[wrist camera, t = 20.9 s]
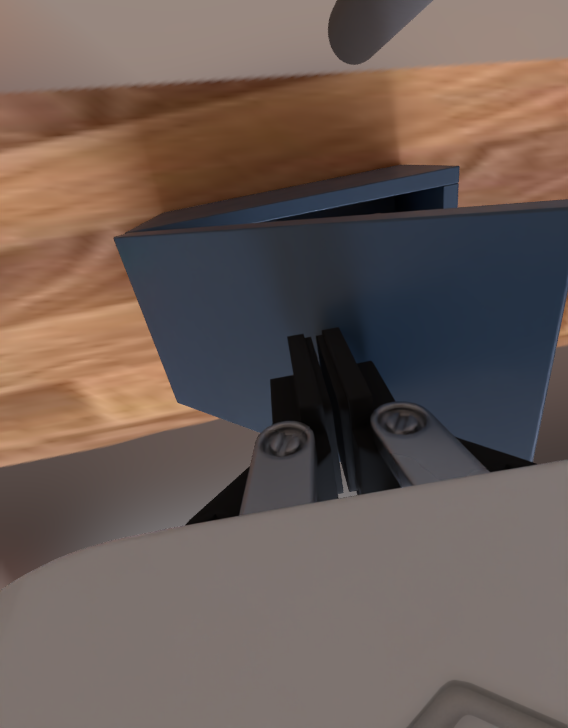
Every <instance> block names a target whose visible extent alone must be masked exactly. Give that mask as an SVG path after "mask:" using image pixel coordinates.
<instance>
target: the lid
mask: <svg viewBox="0 0 568 728" xmlns="http://www.w3.org/2000/svg"><path fill="white" fill-rule="evenodd" d="M114 241H115V244H116V246H117V249H118V251H119V254H120V256H121V259H122V262H123V264H124V267H125V269H126V272H127V274H128V277H129V279H130V282H131V285H132V287H133V290H134V292H135V295H136V297H137V300H138V303H139V305H140V308H141V310H142V313H143V315H144V318H145V321H146V323H147V326H148V328H149V331H150V333H151V336H152V338H153V341H154V344H155V346H156V349H157V351H158V354H159V356H160V359H161V362H162V364H163V367H164V369H165V372H166V374H167V377H168V380H169V382H170V385H171V387H172V390H173V392H174V395H175V397H176V400H177V402H178V403H180V404H183V405H185V406H188V407H191V408H194V409H196V410H199V411H202V412H205V413H207V414H210V415H213V416H216V417H218V418H221V419H224V420H227V421H230V422H232V423H235V424H238V425H240V426H243V427H246V428H249V429H251V430H254V431H257V432H260V433H261V432H262V431H263V430H264V429H266V428H267V427H269V426H271V425H273V424H272V406H271V389H270V379H274V378H279V377H285V376H290V375H293V369H292V363H291V357H290V351H289V346H288V340H287V336H293V335H298V334H304V337H305V338H306V337H311V339H312V342H313V345H314V349H315V352H316V355H317V358H318V362H319V355H318V348H317V342H316V336H317V335H322V330H325V329H330V328H336V327H339V328H340V331H341V333H342V335H343V337H344V339H345V341H346V343H347V345H348V347H349V349H350V351H351V353H352V355H353V357H354V359H355V361H356V363H361V362H367V361H372V362H373V363H374V365H375V367H376V368H377V370H378V372H379V374H380V375H381V377H382V379H383V380H384V382H385V384H386V386H387V387H388V389H389V391H390V393H391V394H392V396H393V398H394V399H395V401H407V402H412V403H416V404H418V405H421V406H423V407H425V408H426V409H427V410H429V411H430V412H431V413H432V414H433V415H434V416H435V417H436V418H437V419H438V420H439V421H440V422H441V423H442V424H443V425H444V426H445V427H446V428H447V429H448V430H449V431H450V432H451V433H452V434H453V435H454V436H455V437H457V438H460V439H463V440H466V441H469V442H473V443H476V444H479V445H482V446H485V447H488V448H491V449H494V450H497V451H500V452H503V453H506V454H509V455H513V456H516V457H519V458H522V459H525V460H528V461H531V462H533V458H534V453H535V448H536V443H537V438H538V433H539V428H540V424H541V419H542V414H543V409H544V404H545V399H546V395H547V390H548V385H549V380H550V375H551V370H552V365H553V361H554V356H555V351H556V346H557V341H558V336H559V332H560V327H561V322H562V317H563V312H564V307H565V302H566V297H567V293H568V199H566V200H552V201H539V202H526V203H513V204H500V205H487V206H474V207H460V208H447V209H434V210H421V211H408V212H395V213H382V214H368V215H355V216H342V217H329V218H316V219H303V220H289V221H276V222H263V223H250V224H237V225H224V226H211V227H197V228H184V229H171V230H158V231H145V232H132V233H126V234H123V235H119V236H116V237H114ZM319 365H320V362H319ZM338 455H339V453H338ZM339 462H341V461H340V457H339Z"/></svg>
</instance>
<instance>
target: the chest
mask: <svg viewBox="0 0 568 728" xmlns="http://www.w3.org/2000/svg"><path fill="white" fill-rule="evenodd" d="M458 182H459V166H442V165H397V166H392V167H387V168H382V169H377V170H372V171H367V172H362V173H357V174H352V175H347V176H342V177H337V178H332V179H327V180H322V181H317V182H312V183H307V184H302V185H298V186H293V187H288V188H283V189H278V190H273V191H268V192H263V193H258V194H253V195H248V196H243V197H238V198H233V199H228V200H223V201H218V202H213V203H208V204H203V205H198V206H194V207H189V208H184V209H179V210H174V211H169V212H164V213H161V214H159V215H158V216H156V217H154V218H152V219H150V220H148V221H146V222H144V223H143V224H141V225H139V226H137V227H135V228H133V229H131V230H130V231H128V232H126V233H132V232H145V231H158V230H171V229H184V228H197V227H211V226H224V225H237V224H250V223H263V222H276V221H289V220H303V219H316V218H329V217H342V216H355V215H368V214H375V213H381V214H382V213H395V212H408V211H421V210H434V209H447V208H457V205H458V185H459V184H458ZM126 233H125V234H126Z"/></svg>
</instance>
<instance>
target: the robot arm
mask: <svg viewBox="0 0 568 728" xmlns="http://www.w3.org/2000/svg"><path fill="white" fill-rule="evenodd" d="M287 340H288V346H289V351H290V357H291V363H292V369H293V375H290V376H285V377H279V378H274V379H270V389H271V406H272V424H273V425H271V426H269V427H267V428H266V429H264V430H263V431H262V432H261V433H260V434H259V436H258V437H257V440H256V442H255V446H254V451H253V455H252V460H251V464H250V467H248V468H247V469H246V470H245V471H244V472H243V473H242V474H241V475H239V476H238V477H237V478H236V479H235V480H234V481H233V482H232V483H231V484H230V485H229V486H227V487H226V488H225V489H224V490H223V491H222V492H220V493H219V494H218V495H217V496H216V497H215V498H214V499H213V500H212V501H210V502H209V503H208V504H207V505H206V506H205V507H204V508H203V509H202V510H201V511H199V512H198V513H197V514H196V515H195V516H194V517H193V518H192V519H190V520H189V522H188V523H187V524H186V525H185V526H180V527H174V528H169V529H163V530H158V531H154V532H149V533H144V534H140V535H135V536H130V537H125V538H121V539H116V540H111V541H108V542H104V543H101V544H97V545H94V546H91V547H87V548H84V549H81V550H79V551H76V552H73V553H71V554H68V555H66V556H63V557H60V558H58V559H55V560H53V561H51V562H49V563H47V564H45V565H43V566H41V567H39V568H37V569H35V570H33V571H31V572H29V573H27V574H26V575H24V576H22V577H20V578H19V579H17V580H15V581H14V582H12V583H11V584H9V585H8V586H6V587H5V588H3V589H2V590H0V728H568V460H562V461H557V462H550V463H544V464H535V463H533V462H531V461H528V460H525V459H522V458H519V457H516V456H513V455H509V454H506V453H503V452H500V451H497V450H494V449H491V448H488V447H485V446H482V445H479V444H476V443H473V442H469V441H466V440H463V439H460V438H457V437H455V436H454V435H453V434H452V433H451V432H450V431H449V430H448V429H447V428H446V427H445V426H444V425H443V424H442V423H441V422H440V421H439V420H438V419H437V418H436V417H435V416H434V415H433V414H432V413H431V412H430V411H429V410H427V409H426V408H425V407H423V406H421V405H418V404H416V403H412V402H407V401H395V399H394V398H393V396H392V394H391V393H390V391H389V389H388V387H387V386H386V384H385V382H384V380H383V379H382V377H381V375H380V374H379V372H378V370H377V368H376V367H375V365H374V363H373V362H372V361H367V362H361V363H356V361H355V359H354V357H353V355H352V353H351V351H350V349H349V347H348V345H347V343H346V341H345V339H344V337H343V335H342V333H341V331H340V328H339V327H336V328H330V329H325V330H322V335H317V336H316V342H317V348H318V355H319V362H320V365H319V362H318V358H317V355H316V352H315V349H314V345H313V342H312V339H311V337H306V338H305V337H304V334H298V335H293V336H287ZM338 453H339V455H338ZM339 457H340V461H341V464H342V468H343V471H344V475H345V478H346V482H347V486H348V489H349V491H350V492H352V491H357V495H356V496H350V497H344V498H339V499H338V494H340V493H343V485H342V478H341V470H340V463H339Z"/></svg>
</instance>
